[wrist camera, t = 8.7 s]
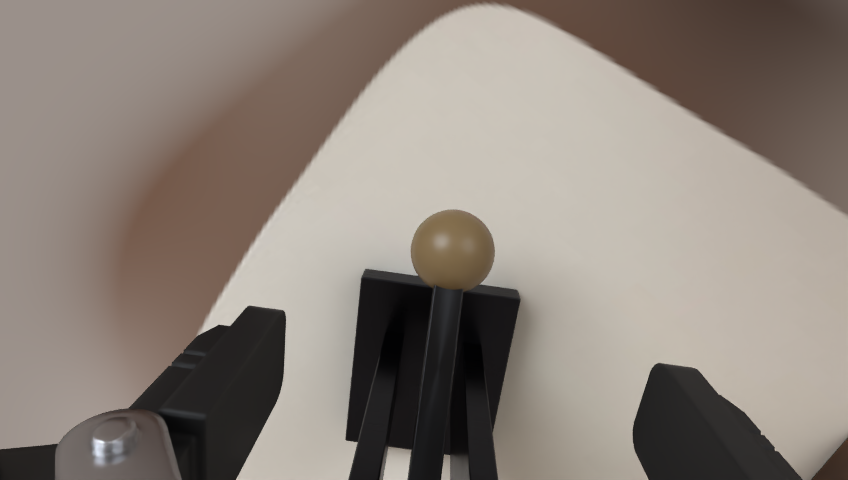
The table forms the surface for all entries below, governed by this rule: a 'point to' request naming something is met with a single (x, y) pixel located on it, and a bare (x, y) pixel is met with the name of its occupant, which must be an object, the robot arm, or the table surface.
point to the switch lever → (443, 322)
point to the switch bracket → (402, 367)
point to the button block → (835, 465)
